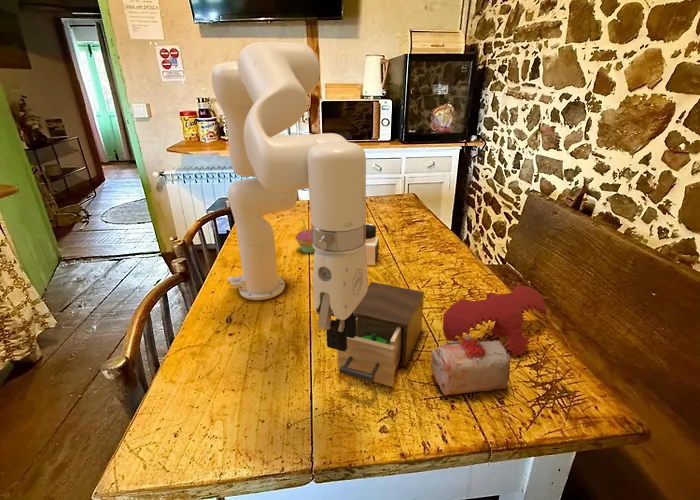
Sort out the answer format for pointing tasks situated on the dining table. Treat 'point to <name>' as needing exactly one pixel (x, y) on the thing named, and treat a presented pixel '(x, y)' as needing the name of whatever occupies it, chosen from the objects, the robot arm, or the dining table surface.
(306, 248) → the cupcake
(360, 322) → the drawer
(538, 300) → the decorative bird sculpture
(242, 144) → the robot arm
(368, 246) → the medicine bottle
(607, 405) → the dining table surface
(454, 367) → the food item
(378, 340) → the pepper
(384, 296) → the cabinet
